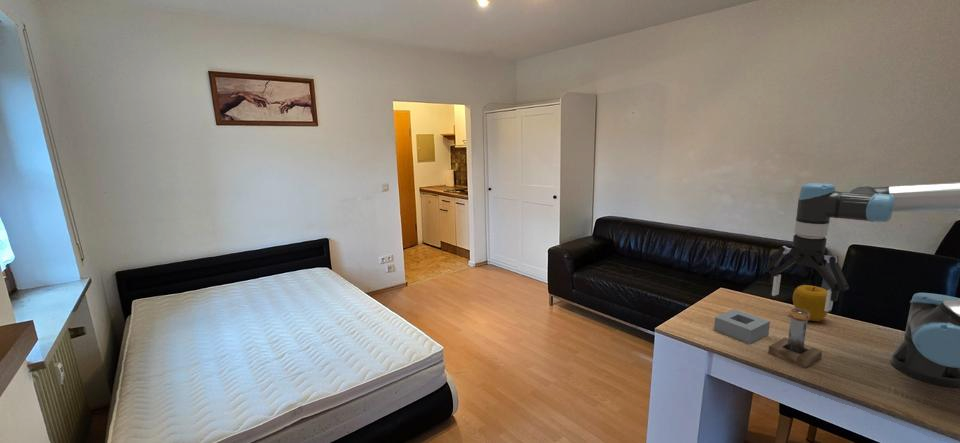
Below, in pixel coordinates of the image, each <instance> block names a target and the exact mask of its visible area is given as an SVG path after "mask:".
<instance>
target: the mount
mask: <svg viewBox="0 0 960 443" xmlns="http://www.w3.org/2000/svg"><path fill="white" fill-rule="evenodd" d="M787 344H788V337H783V338H781V339H779V340H777V341H776V342H774V343H772V344H770V345H768V350H767V351H768V354H770V355H772V356H775V357H777V358H780V359H782V360H785V361H788V362H790V363H793V364H795V365H798V366H800V367H803V368H805V369H806V368H808V367H809V366H811V365H813V364H814V363H816V362H817V361H819V360H821V358H822V356H823V350H822V349H818V348H816V347H814V346H810V345H809V344H808V345H807V344H805V343H804V350H803V354H799V353H796V352H793V351H791V350H788V349H787Z"/></svg>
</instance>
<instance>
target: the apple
mask: <svg viewBox="0 0 960 443" xmlns="http://www.w3.org/2000/svg"><path fill="white" fill-rule="evenodd" d="M827 291H828V289H825V288H822V287H820V286H816V285H809V284H802V285H798V286H797V287H796V288H795V289H794V290H793V292H792V293H793V294H792V303H793V306H794V308H796V309H803V310H806V311H808V312H809V313H810V316H809V320H808V321H811V322H821V321H823V320H824V318H825V317H826V316H827V315H828V312H829V311H828V312H827V311H824V309H825V303H826V297H827Z"/></svg>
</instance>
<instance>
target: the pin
mask: <svg viewBox="0 0 960 443" xmlns="http://www.w3.org/2000/svg"><path fill="white" fill-rule="evenodd" d="M809 316H810V313H809V312H808V311H806V310H803V309H796V308H795V307H794V308H791V309H790V312H789V317H790V322H789V331H788V337H787V338H788V344H787V349H788V350H791V351H793V352H796V353H799V354H803V350H804V344H805V342H806V334H807V328H808V321H810V320H809Z"/></svg>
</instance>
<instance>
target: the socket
mask: <svg viewBox="0 0 960 443" xmlns="http://www.w3.org/2000/svg"><path fill="white" fill-rule="evenodd" d="M770 324H771V321H770V320H768V319H764V318H761V317H758V316H755V315H752V314H749V313H747V312H743V311H740V310H738V309H736V308H735V309H731V310H729V311H727V312H724V313H721V314H720V315H717V316H715V317H714V324H713V325H714V327H713V330H714V331H716V332H719V333H721V334H723V335H727V336H728V337H731V338H734V339H736V340H739V341H741V342H744V343H746V344H749V345H751V344H752V343H755V342H757V341H759V340H761V339H762V338H764V337H766V336H768V335H769V334H770V333H769V332H770V326H771V325H770Z"/></svg>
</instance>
